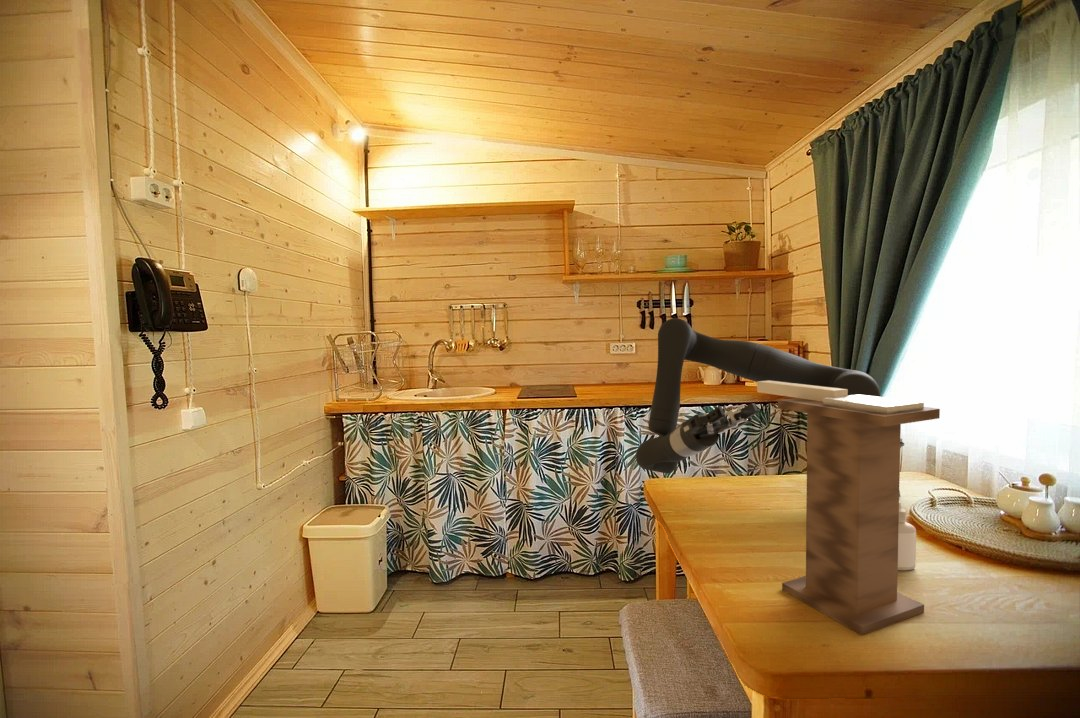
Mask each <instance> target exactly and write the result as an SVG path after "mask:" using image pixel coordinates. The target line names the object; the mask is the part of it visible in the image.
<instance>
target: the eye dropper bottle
mask: <svg viewBox="0 0 1080 718" xmlns="http://www.w3.org/2000/svg"><path fill="white" fill-rule="evenodd" d="M916 556H917V529H916V527H915V526H914V525H912V524H911V523H909V522H907V511H906V509H903V508H902V505H901V502H900V501H899V526H898V571H910V570H914V569H915V568H916V565H917V564H916V562H917V560H916V559H917V557H916Z"/></svg>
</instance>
